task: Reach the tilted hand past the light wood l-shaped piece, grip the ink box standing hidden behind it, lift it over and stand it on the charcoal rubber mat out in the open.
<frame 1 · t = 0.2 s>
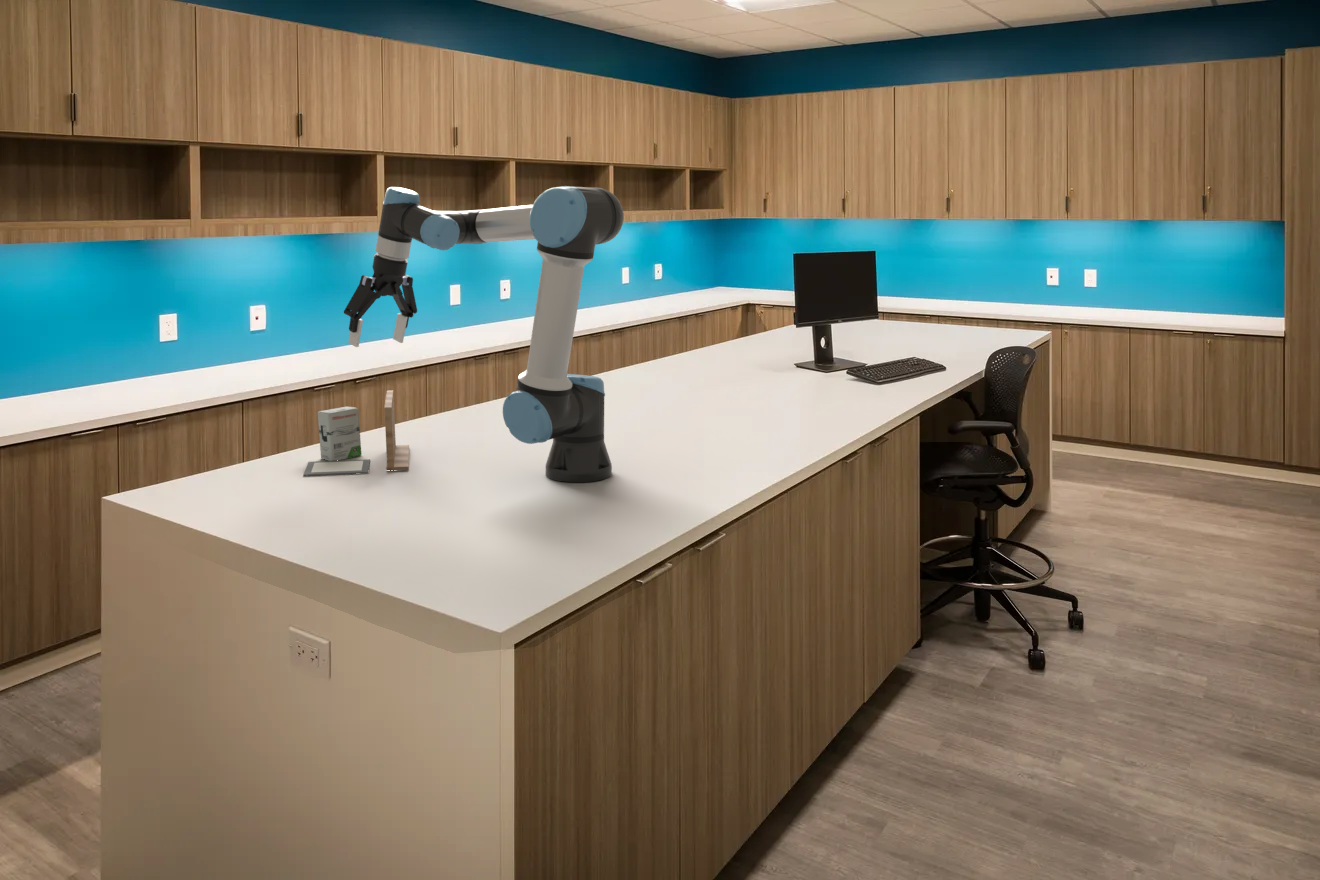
hand: (376, 343, 246), 28 cm above the table, tool tilted 15°, fingers open, 13 cm apart
ink box: (341, 458, 251), on the table
light wood l-shaped piece: (391, 460, 249), on the table
mat: (337, 468, 241), on the table
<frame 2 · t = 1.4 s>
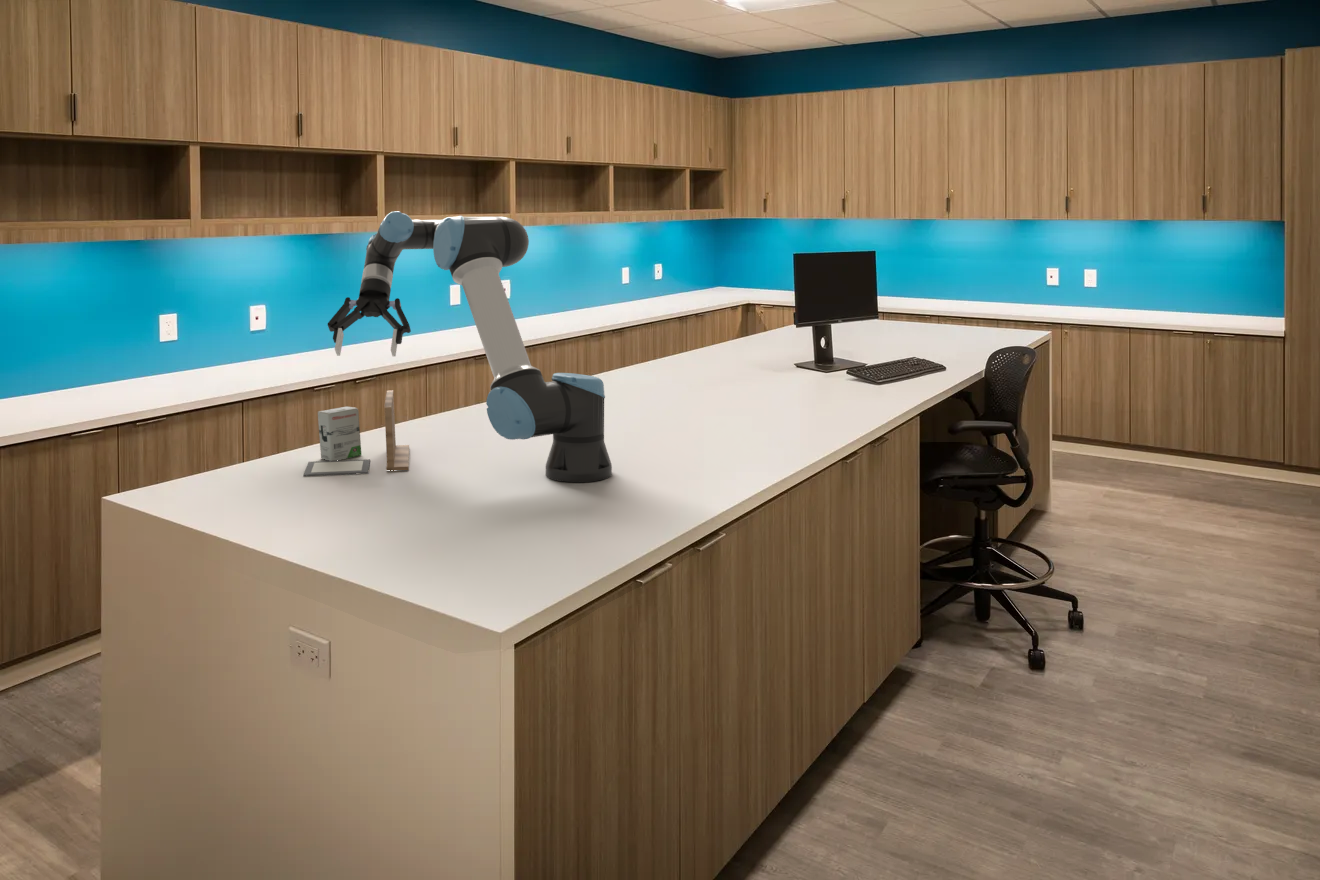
hand: (365, 352, 257), 24 cm above the table, tool tilted 45°, fingers open, 13 cm apart
nothing on the table moved.
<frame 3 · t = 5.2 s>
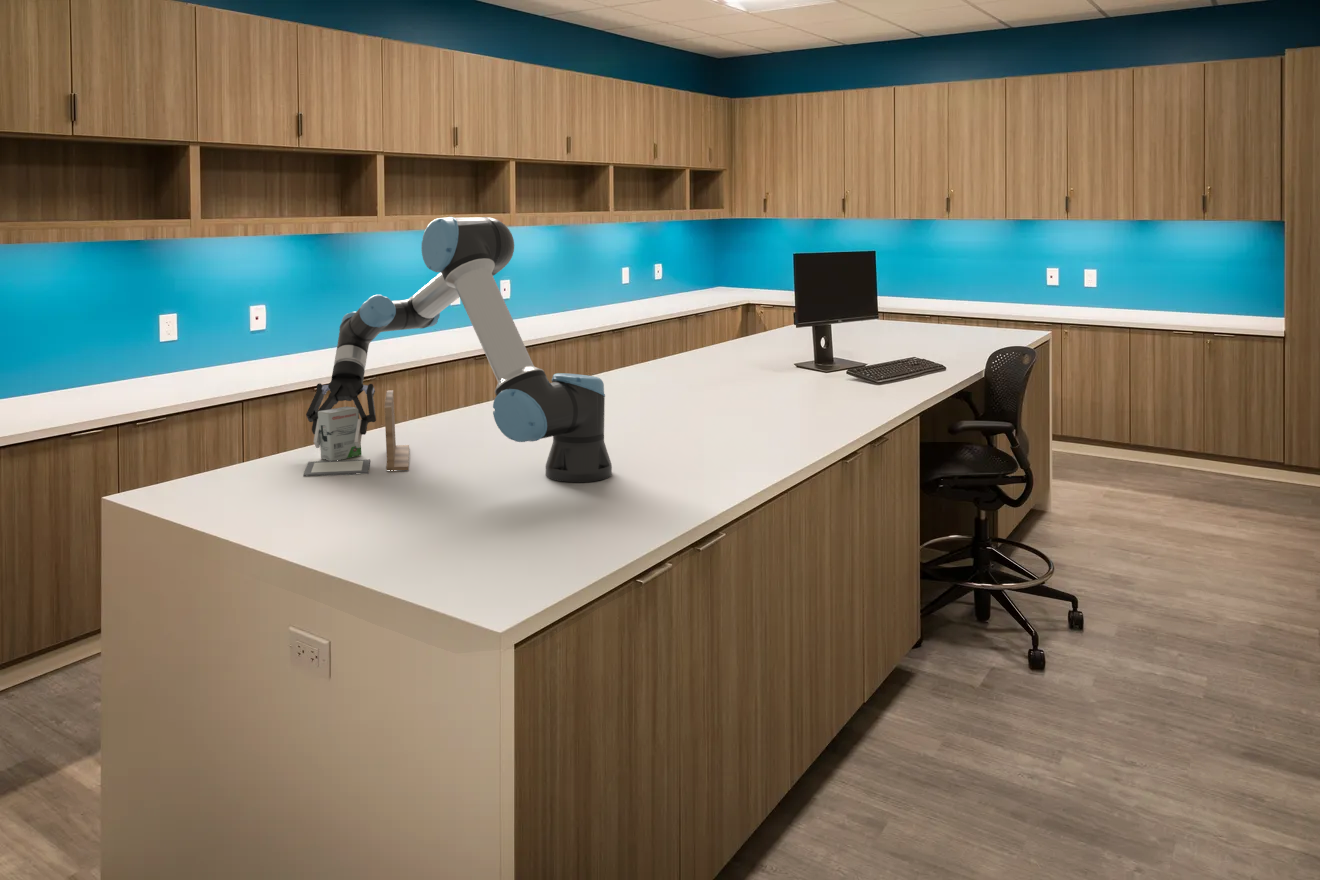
hand: (336, 444, 247), 4 cm above the table, tool tilted 45°, fingers closed on ink box, 9 cm apart
ink box: (341, 457, 251), on the table, touching gripper
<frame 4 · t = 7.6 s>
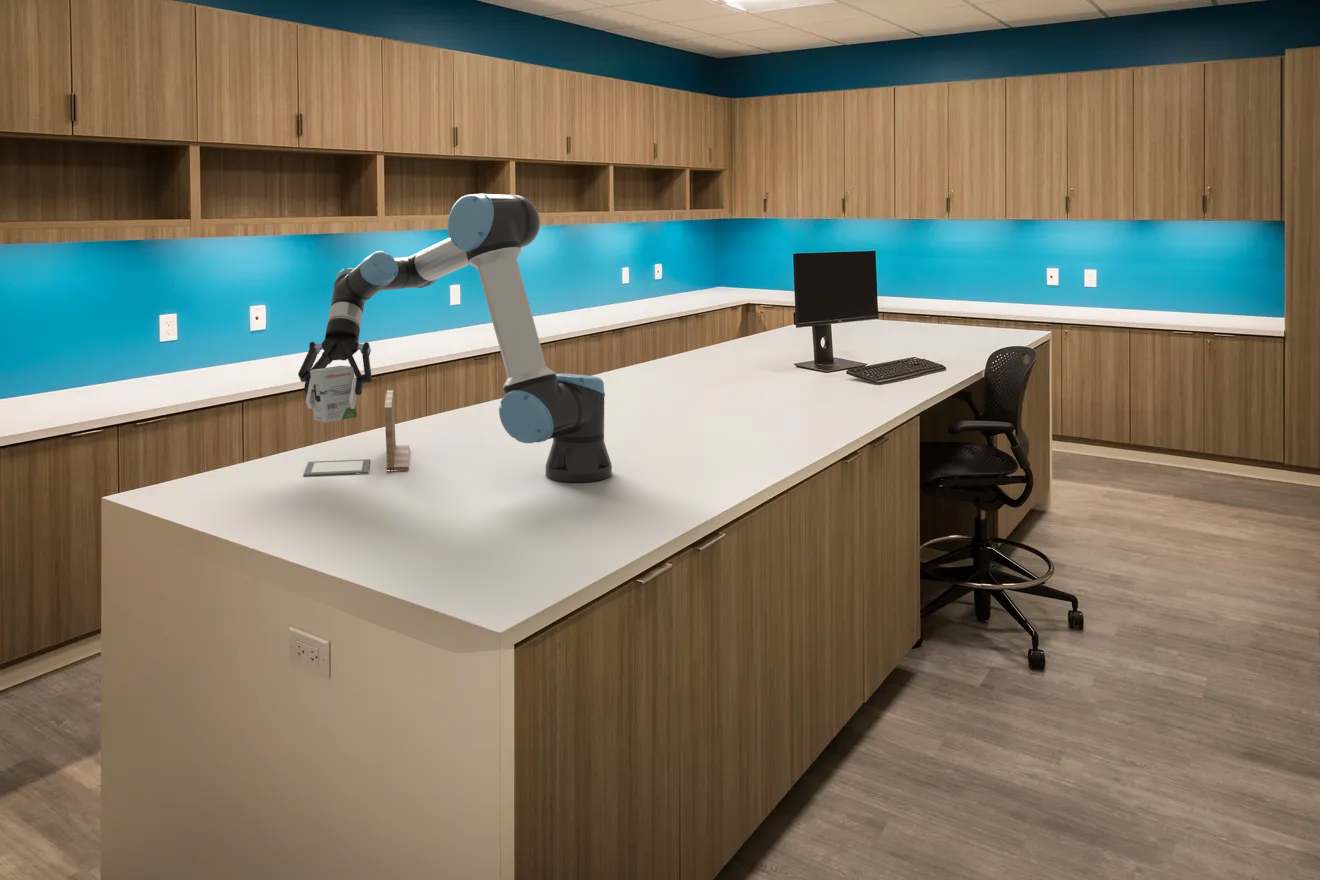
hand: (330, 405, 234), 15 cm above the table, tool tilted 45°, fingers closed on ink box, 9 cm apart
ink box: (335, 419, 238), point 11 cm above the table, touching gripper
when the fingers open (6 cm above the table, at t = 9.8 s): ink box drops 1 cm, resting on mat.
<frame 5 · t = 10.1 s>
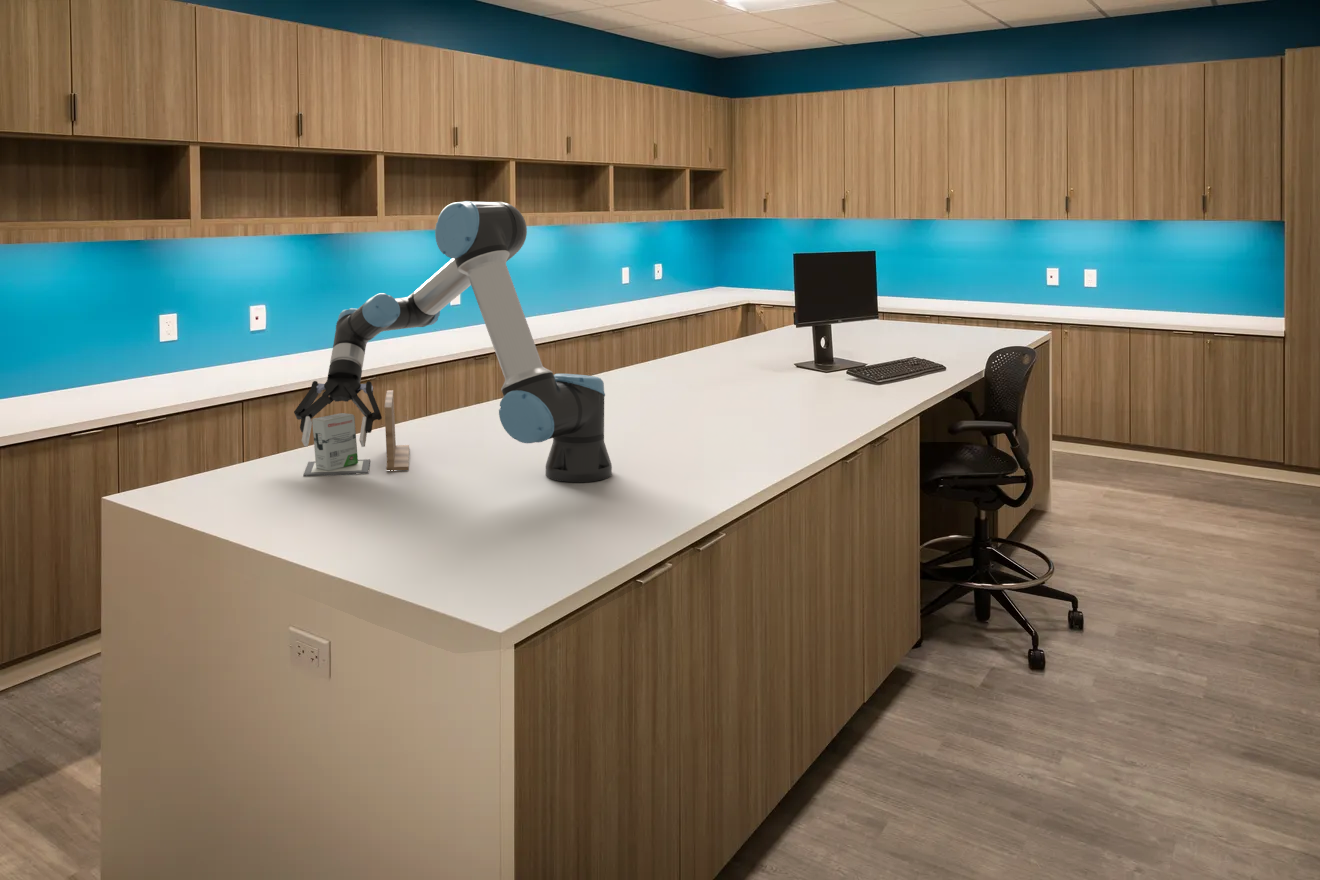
hand: (333, 443, 237), 6 cm above the table, tool tilted 45°, fingers open, 12 cm apart
ink box: (337, 466, 241), resting on mat
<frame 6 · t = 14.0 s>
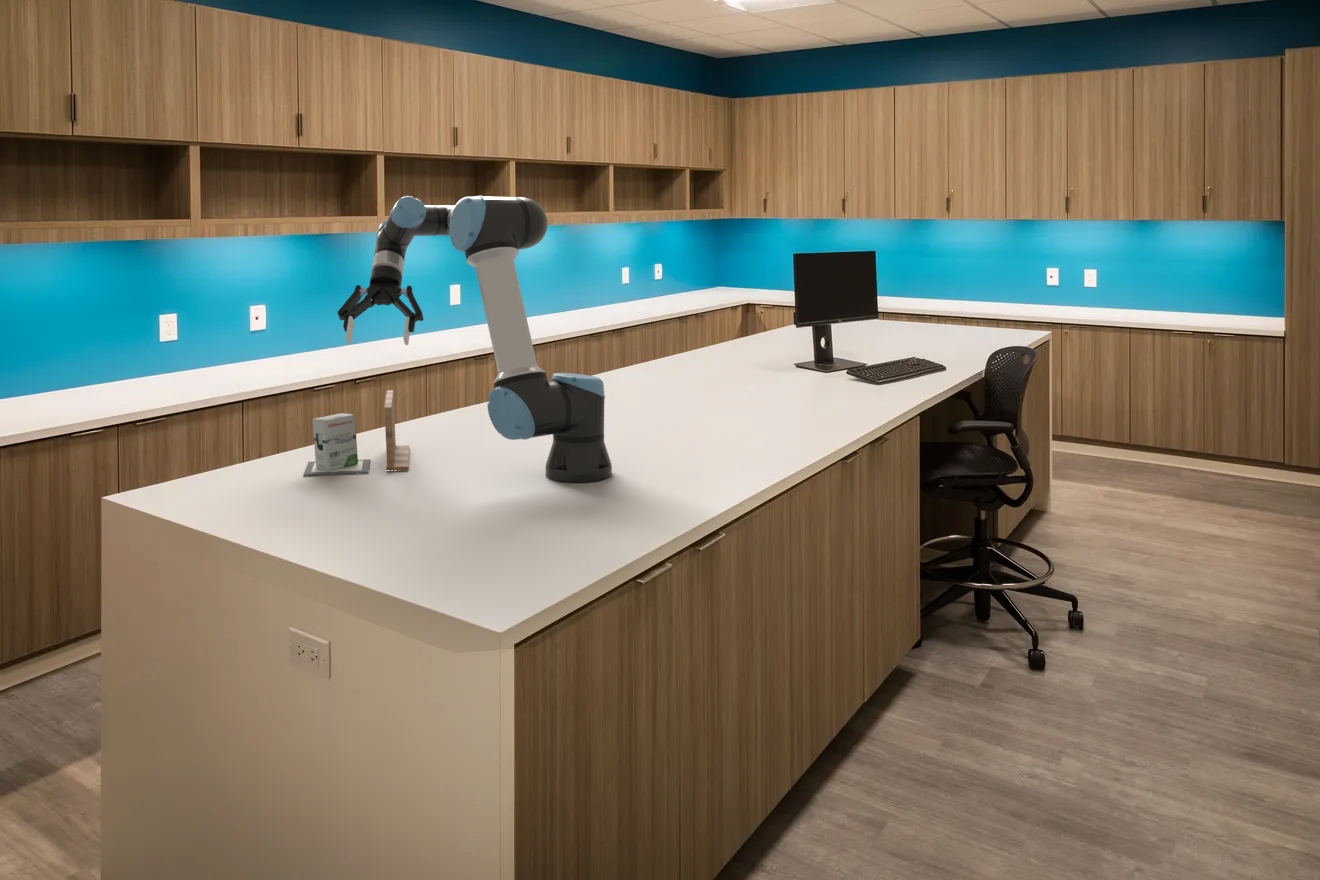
hand: (376, 341, 249), 28 cm above the table, tool tilted 45°, fingers open, 13 cm apart
nothing on the table moved.
at the end: ink box inside the target area on the mat (0.3 cm from its centre), point 0.3 cm above the mat's base; ink box tilted 0°; the gripper is holding nothing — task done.
